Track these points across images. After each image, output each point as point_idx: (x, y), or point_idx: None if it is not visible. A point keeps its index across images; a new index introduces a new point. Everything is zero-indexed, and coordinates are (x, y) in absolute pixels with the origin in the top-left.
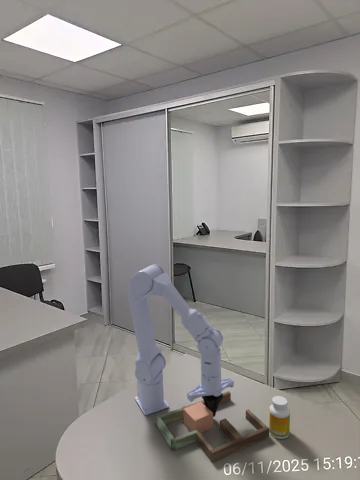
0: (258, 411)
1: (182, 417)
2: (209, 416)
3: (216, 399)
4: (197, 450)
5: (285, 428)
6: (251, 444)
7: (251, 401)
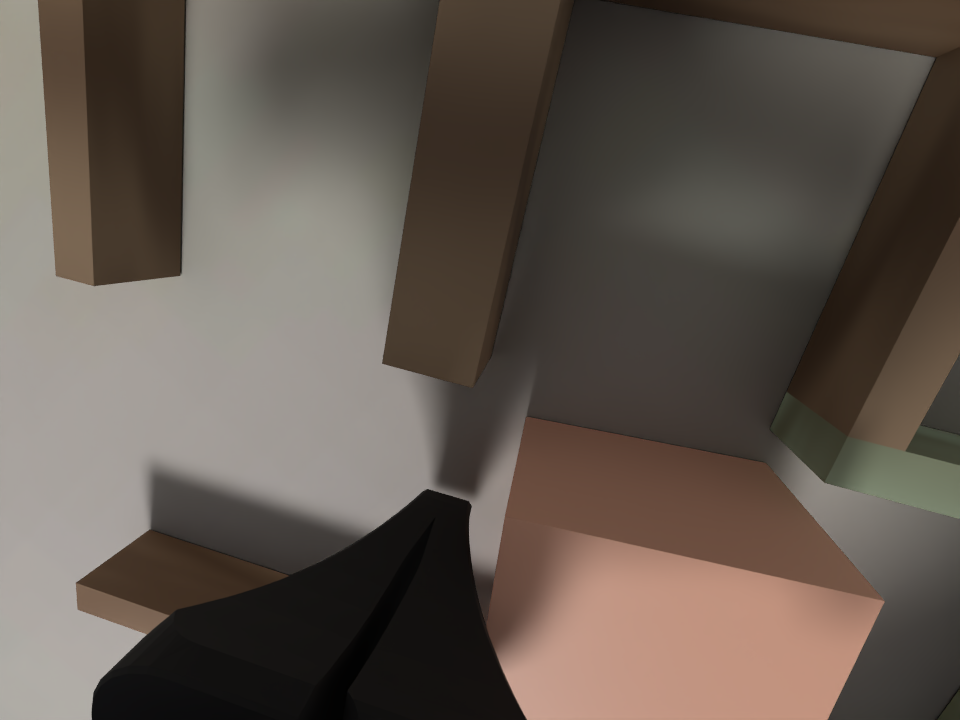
0: (25, 254)
1: None
2: (575, 509)
3: (322, 685)
4: None
5: None
6: None
7: (7, 391)
